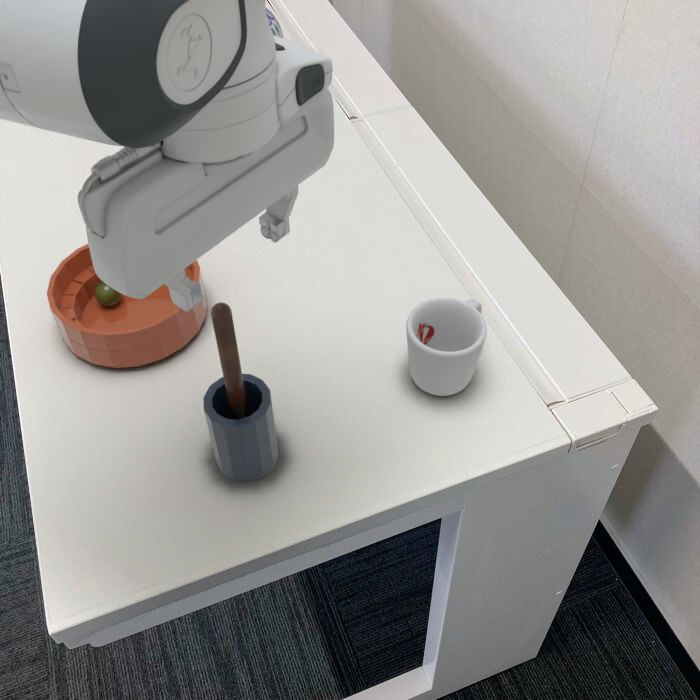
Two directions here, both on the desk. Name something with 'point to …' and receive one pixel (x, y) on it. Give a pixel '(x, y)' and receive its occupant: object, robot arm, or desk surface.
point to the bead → (106, 294)
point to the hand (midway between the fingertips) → (233, 267)
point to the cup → (444, 344)
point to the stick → (229, 359)
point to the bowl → (119, 317)
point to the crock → (242, 431)
